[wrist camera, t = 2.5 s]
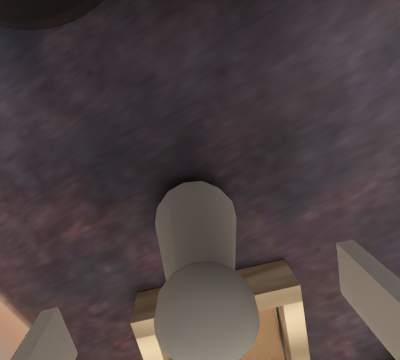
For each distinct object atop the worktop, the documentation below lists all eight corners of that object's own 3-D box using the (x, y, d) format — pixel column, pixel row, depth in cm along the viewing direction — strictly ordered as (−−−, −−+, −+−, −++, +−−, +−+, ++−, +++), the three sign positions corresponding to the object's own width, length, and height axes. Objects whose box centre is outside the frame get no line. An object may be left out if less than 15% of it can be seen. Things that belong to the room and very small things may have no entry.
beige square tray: (137, 292, 25) (130, 323, 22) (284, 259, 25) (300, 285, 22) (173, 399, 29) (172, 439, 26) (300, 370, 29) (316, 407, 26)
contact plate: (161, 313, 25) (161, 317, 24) (270, 288, 25) (272, 292, 24) (186, 392, 28) (187, 397, 27) (284, 370, 28) (286, 375, 27)
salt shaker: (229, 170, 23) (289, 267, 10) (231, 237, 24) (285, 389, 12) (153, 176, 22) (120, 282, 10) (160, 243, 24) (140, 405, 12)
